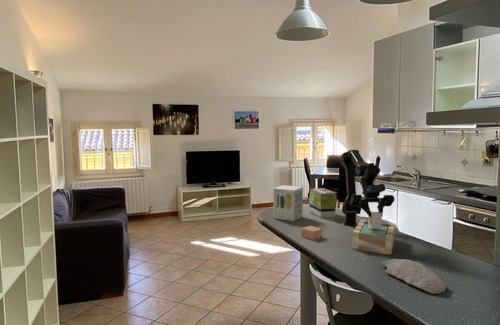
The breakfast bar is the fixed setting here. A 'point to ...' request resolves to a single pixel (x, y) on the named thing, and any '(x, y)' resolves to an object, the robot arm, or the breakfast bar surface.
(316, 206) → the tea box
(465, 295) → the breakfast bar surface
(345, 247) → the breakfast bar surface
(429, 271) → the stone
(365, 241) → the trapdoor box
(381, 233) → the trapdoor
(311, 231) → the plinth
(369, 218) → the stone pillar
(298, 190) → the supplement box
